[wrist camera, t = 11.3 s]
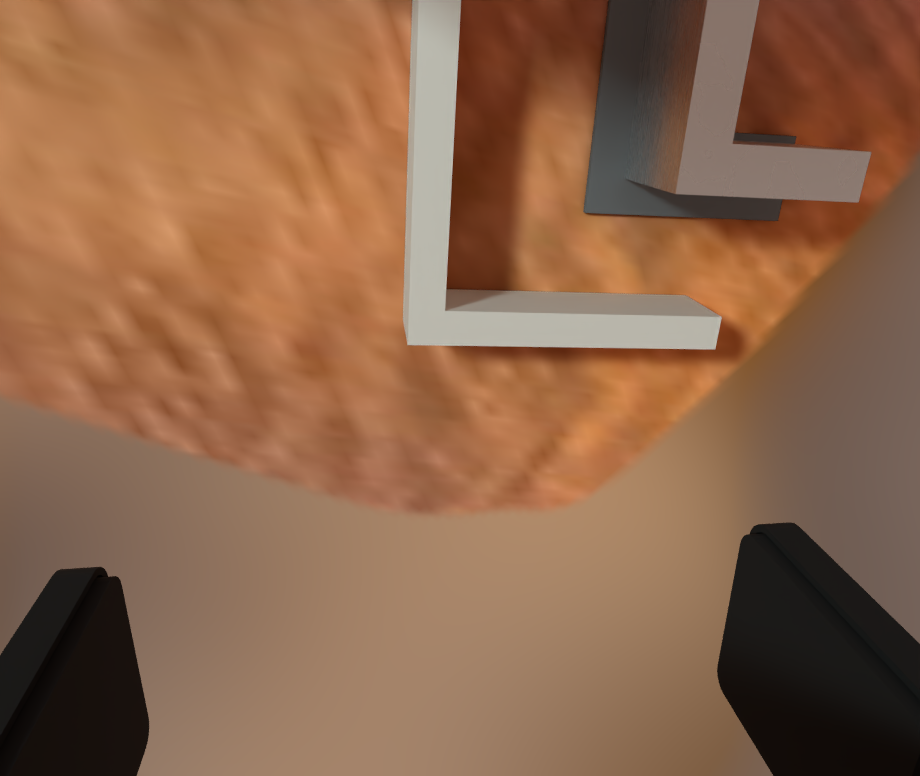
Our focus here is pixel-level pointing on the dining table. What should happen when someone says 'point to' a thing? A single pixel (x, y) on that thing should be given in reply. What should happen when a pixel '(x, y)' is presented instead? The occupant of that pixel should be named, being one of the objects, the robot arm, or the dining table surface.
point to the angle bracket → (718, 115)
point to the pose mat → (614, 130)
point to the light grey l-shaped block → (493, 311)
